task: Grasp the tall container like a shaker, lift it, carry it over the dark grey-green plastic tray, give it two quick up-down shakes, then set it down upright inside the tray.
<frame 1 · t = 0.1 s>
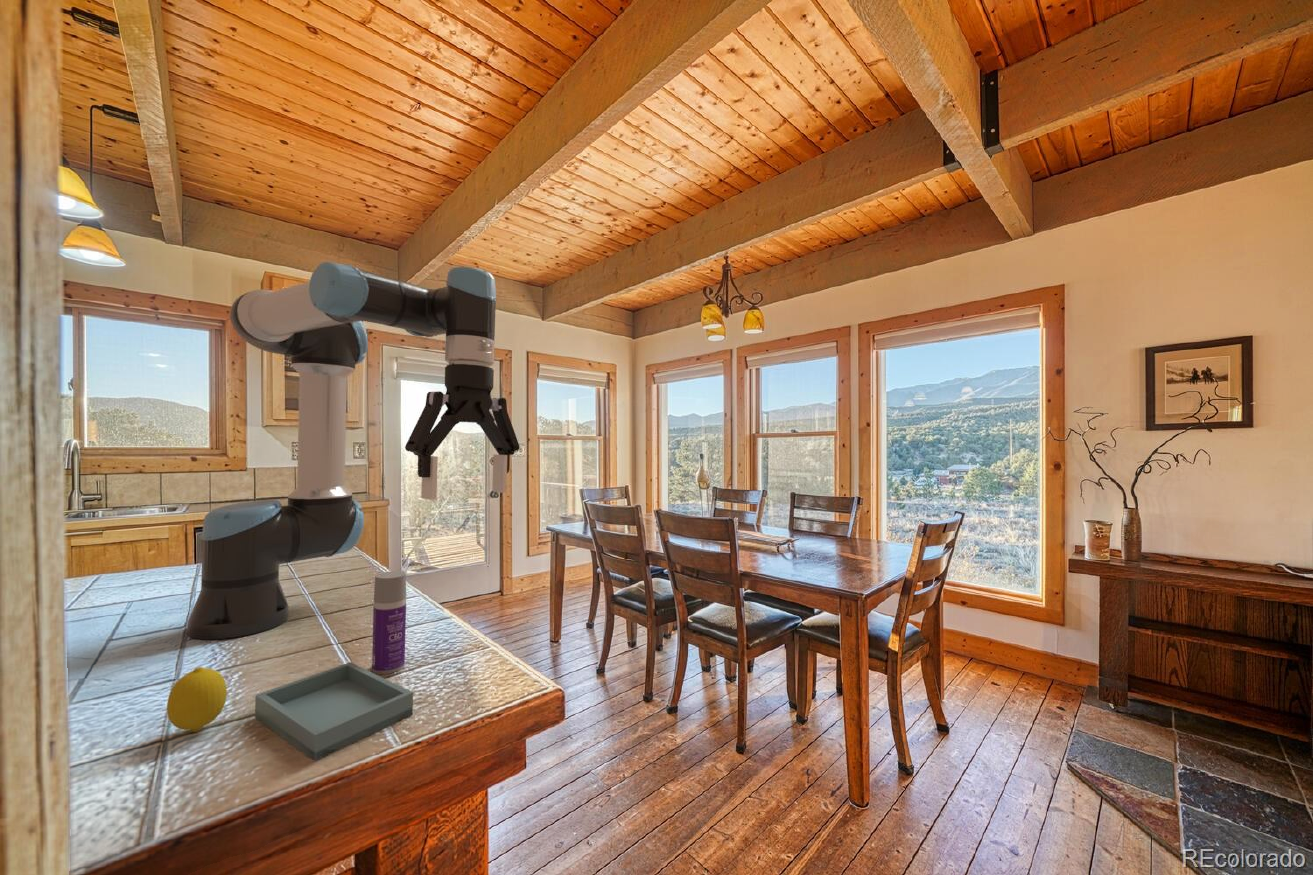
hand: (466, 495, 84), 28 cm above the worktop, fingers open, 13 cm apart
lemon: (196, 733, 64), on the worktop
container: (388, 668, 82), on the worktop
tray: (334, 716, 68), on the worktop
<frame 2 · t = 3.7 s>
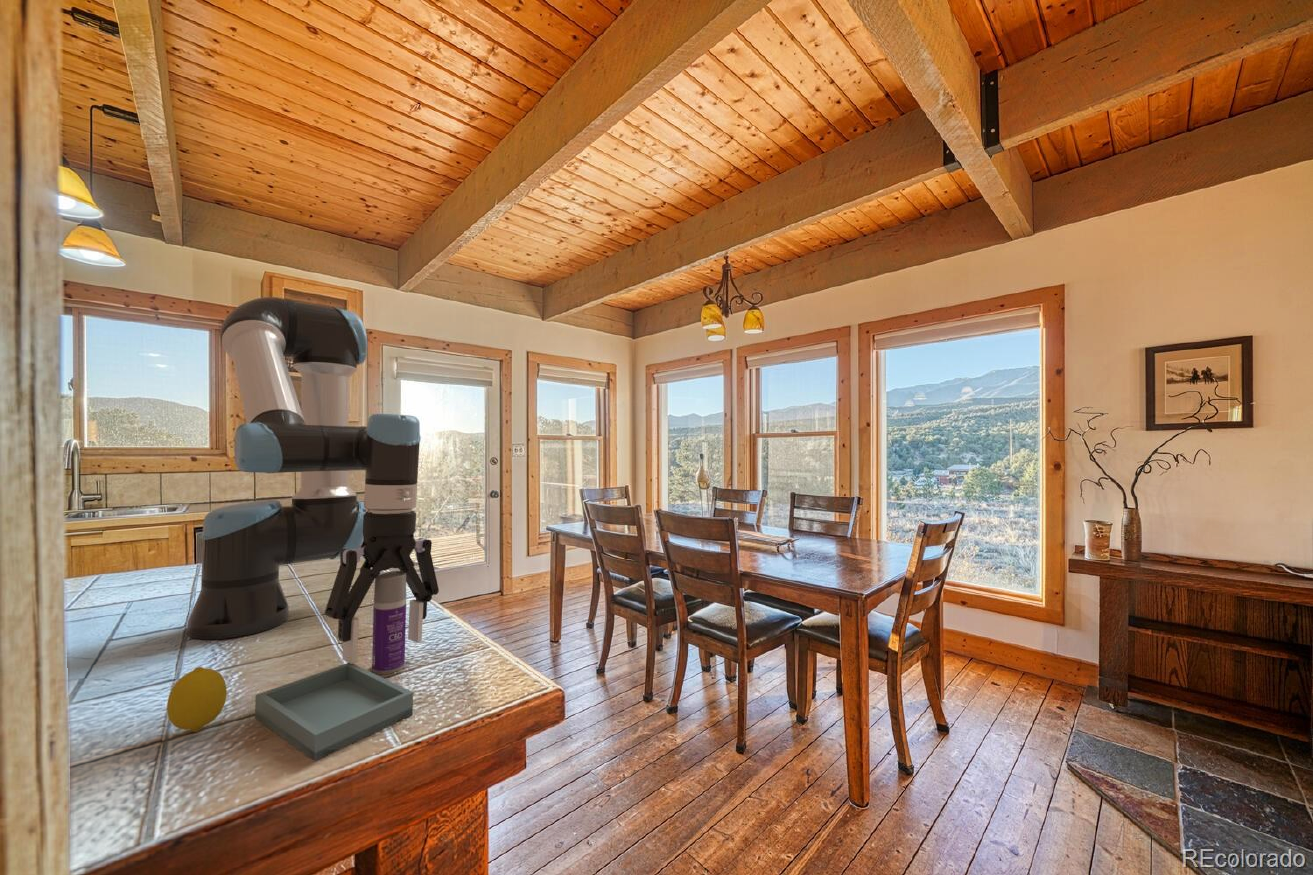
hand: (384, 649, 82), 3 cm above the worktop, fingers open, 10 cm apart
nothing on the worktop moved.
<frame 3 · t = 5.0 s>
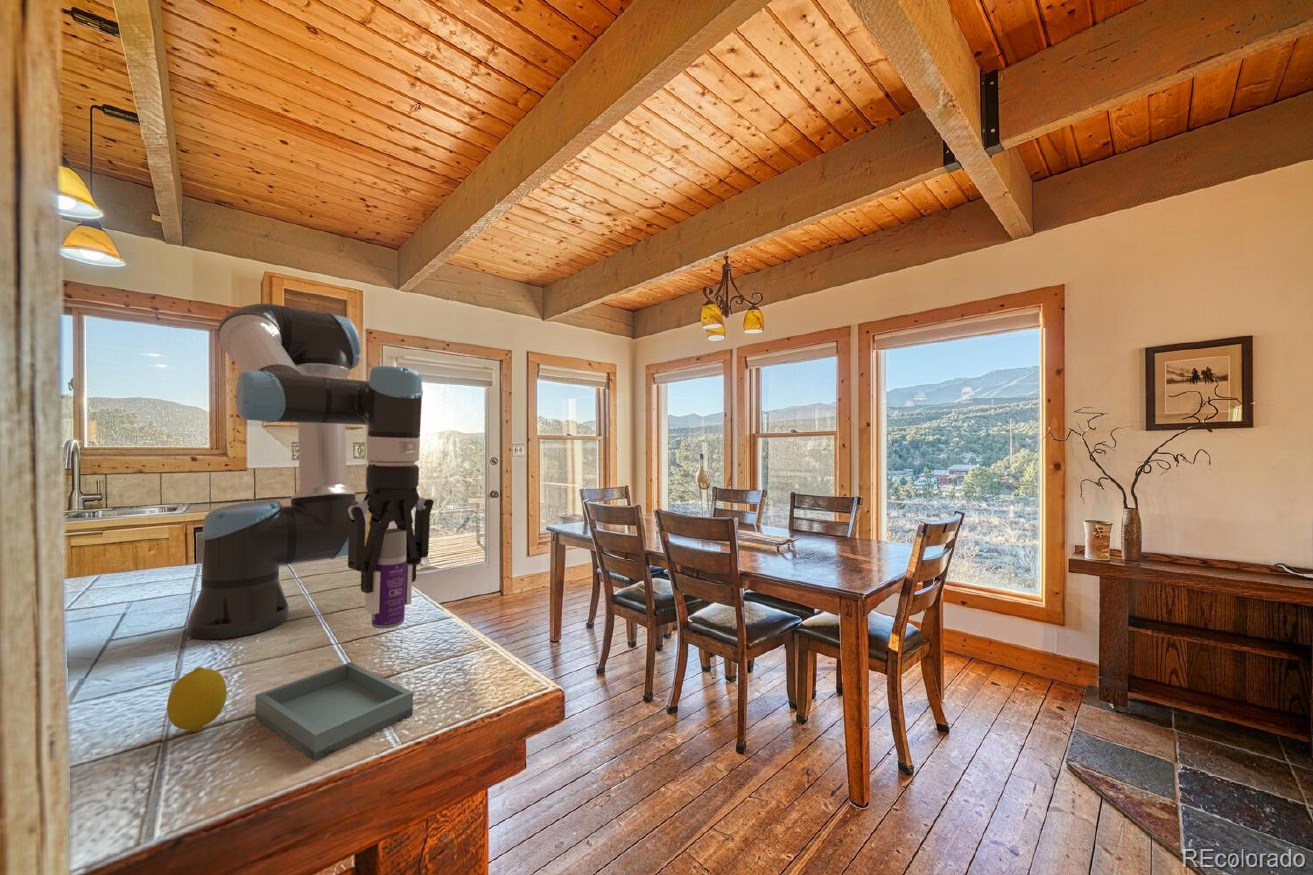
hand: (388, 606, 83), 10 cm above the worktop, fingers closed on container, 5 cm apart
container: (388, 624, 83), point 7 cm above the worktop, touching gripper
everything else where it was.
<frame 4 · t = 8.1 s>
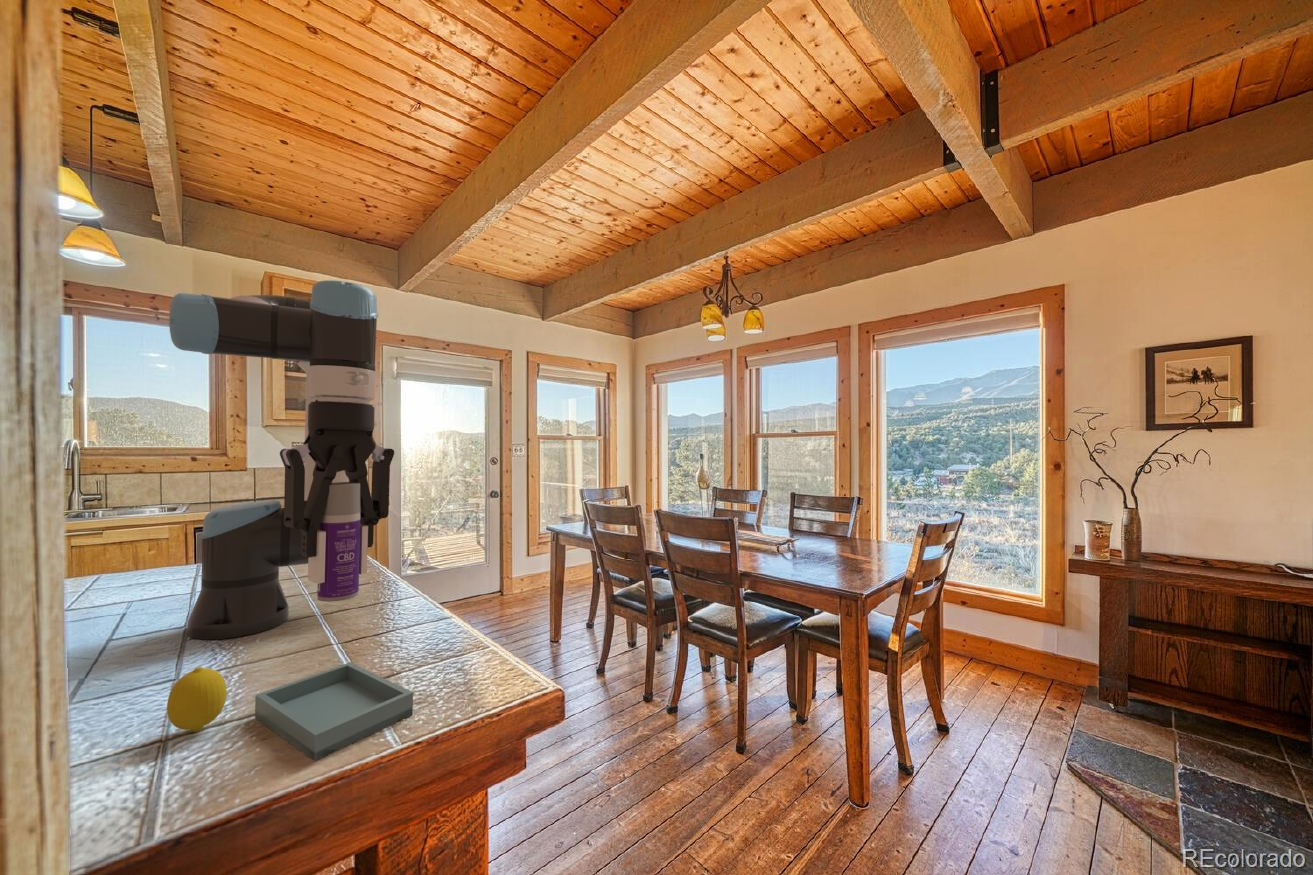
hand: (338, 576, 68), 19 cm above the worktop, fingers closed on container, 5 cm apart
container: (338, 597, 68), point 16 cm above the worktop, touching gripper
everything else where it was.
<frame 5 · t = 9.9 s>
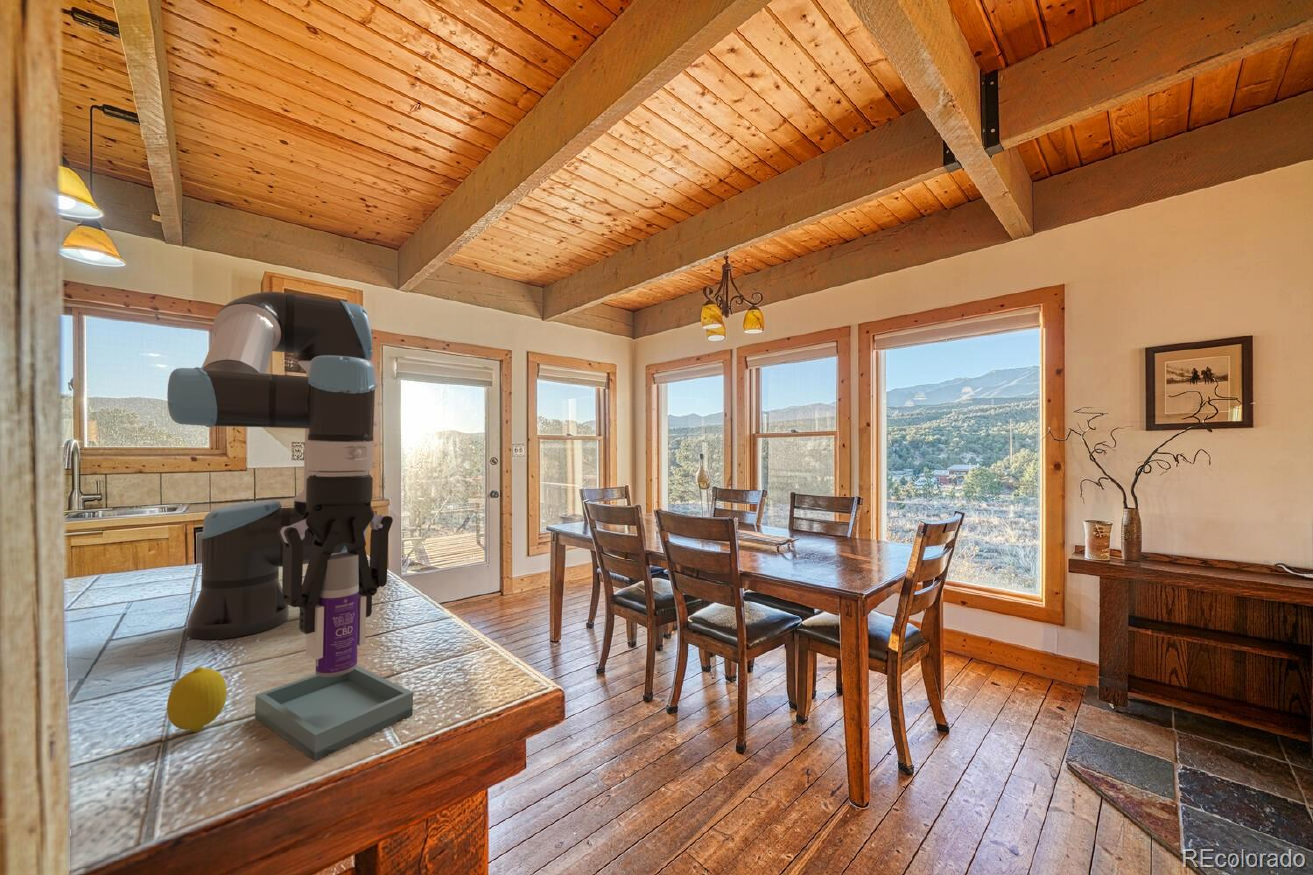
hand: (336, 648, 68), 9 cm above the worktop, fingers closed on container, 5 cm apart
container: (336, 670, 68), point 6 cm above the worktop, touching gripper
everything else where it was.
when the fingers open (4 cm above the worktop, at t = 11.5 s): container stays where it is, resting on tray.
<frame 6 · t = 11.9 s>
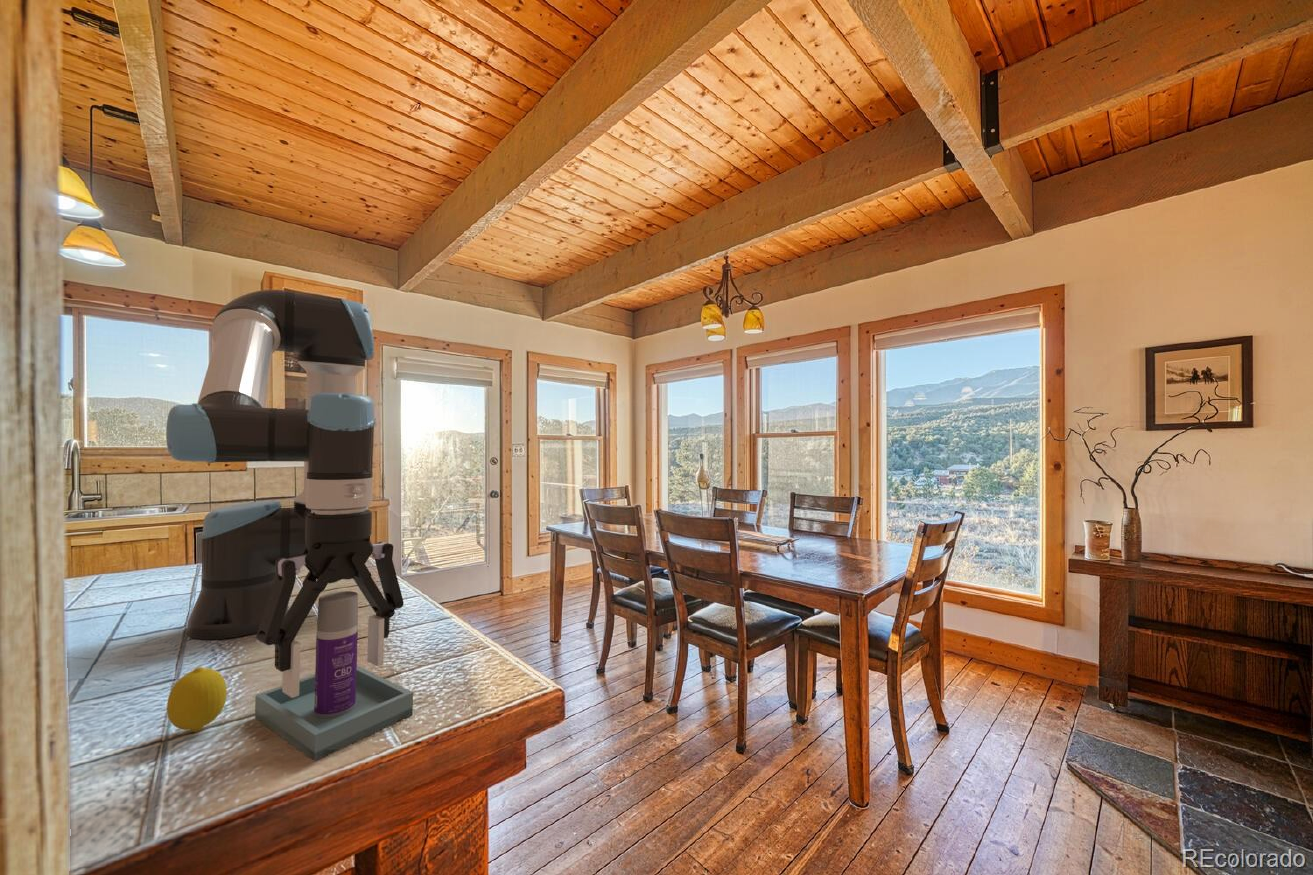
hand: (335, 677, 68), 5 cm above the worktop, fingers open, 10 cm apart
container: (335, 710, 68), point 1 cm above the worktop, touching tray
everything else where it was.
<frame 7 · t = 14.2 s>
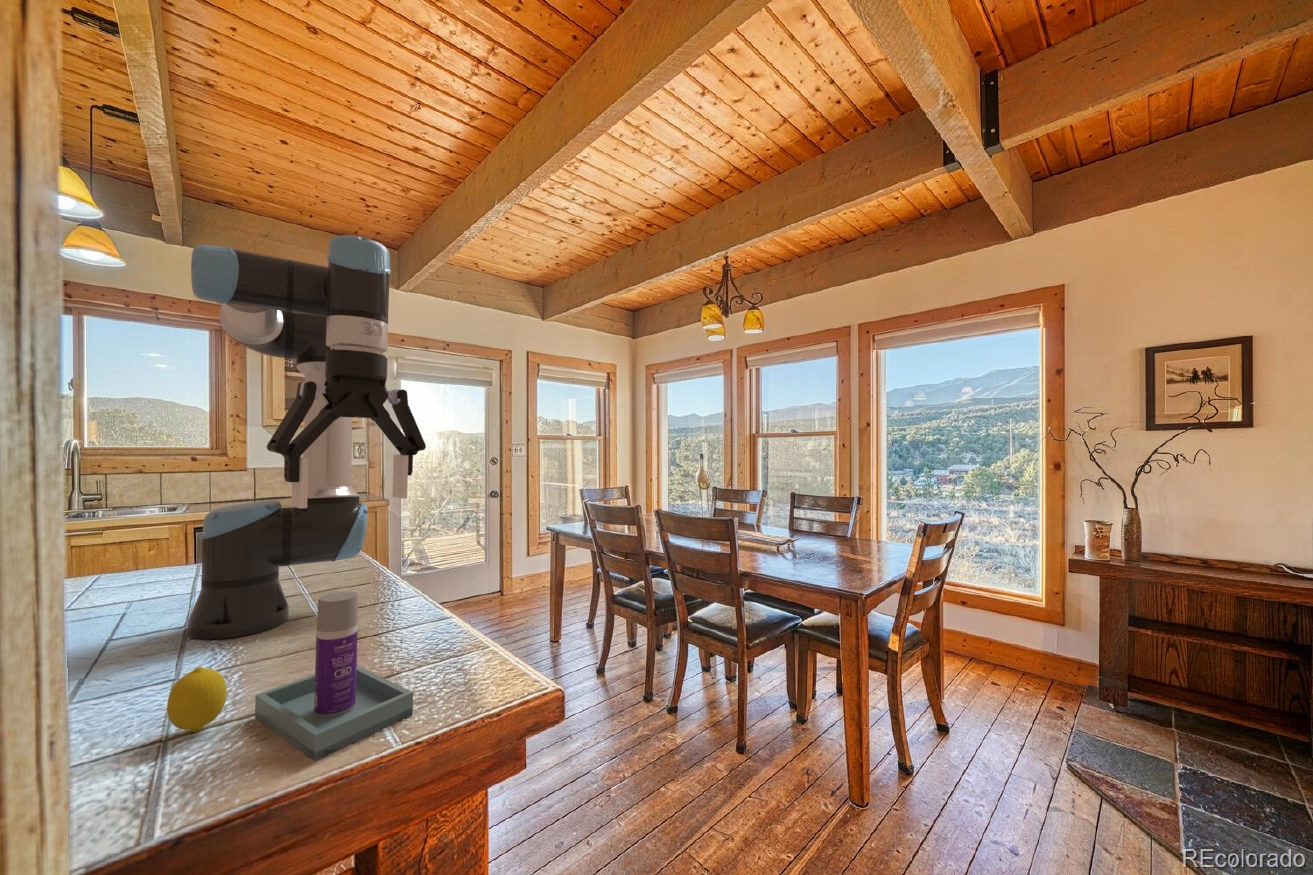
hand: (353, 502, 72), 28 cm above the worktop, fingers open, 13 cm apart
nothing on the worktop moved.
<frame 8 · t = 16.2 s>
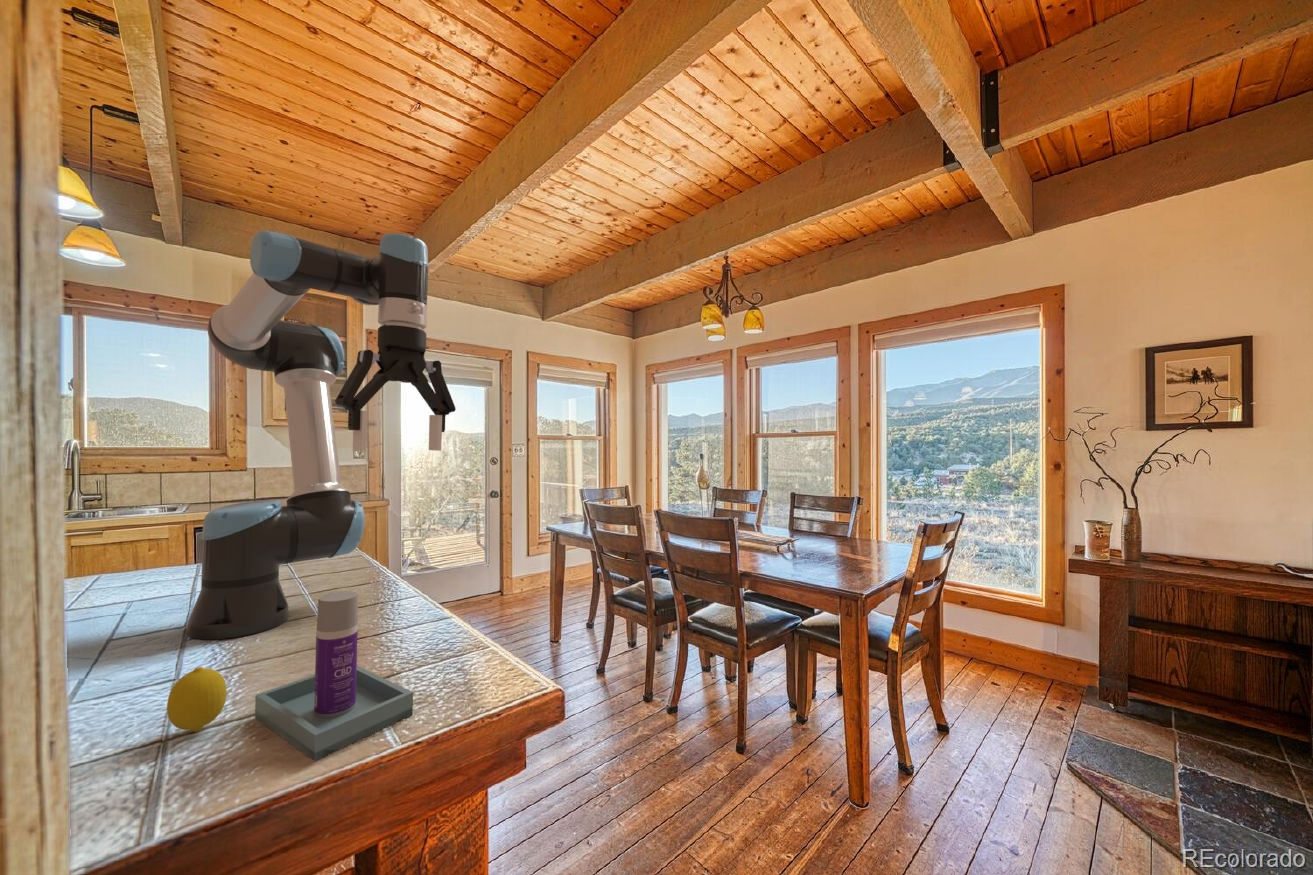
hand: (399, 451, 89), 35 cm above the worktop, fingers open, 13 cm apart
nothing on the worktop moved.
at the end: container inside the target area on the tray (0.1 cm from its centre), point 0.8 cm above the tray's base; container tilted 0°; container touching tray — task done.
